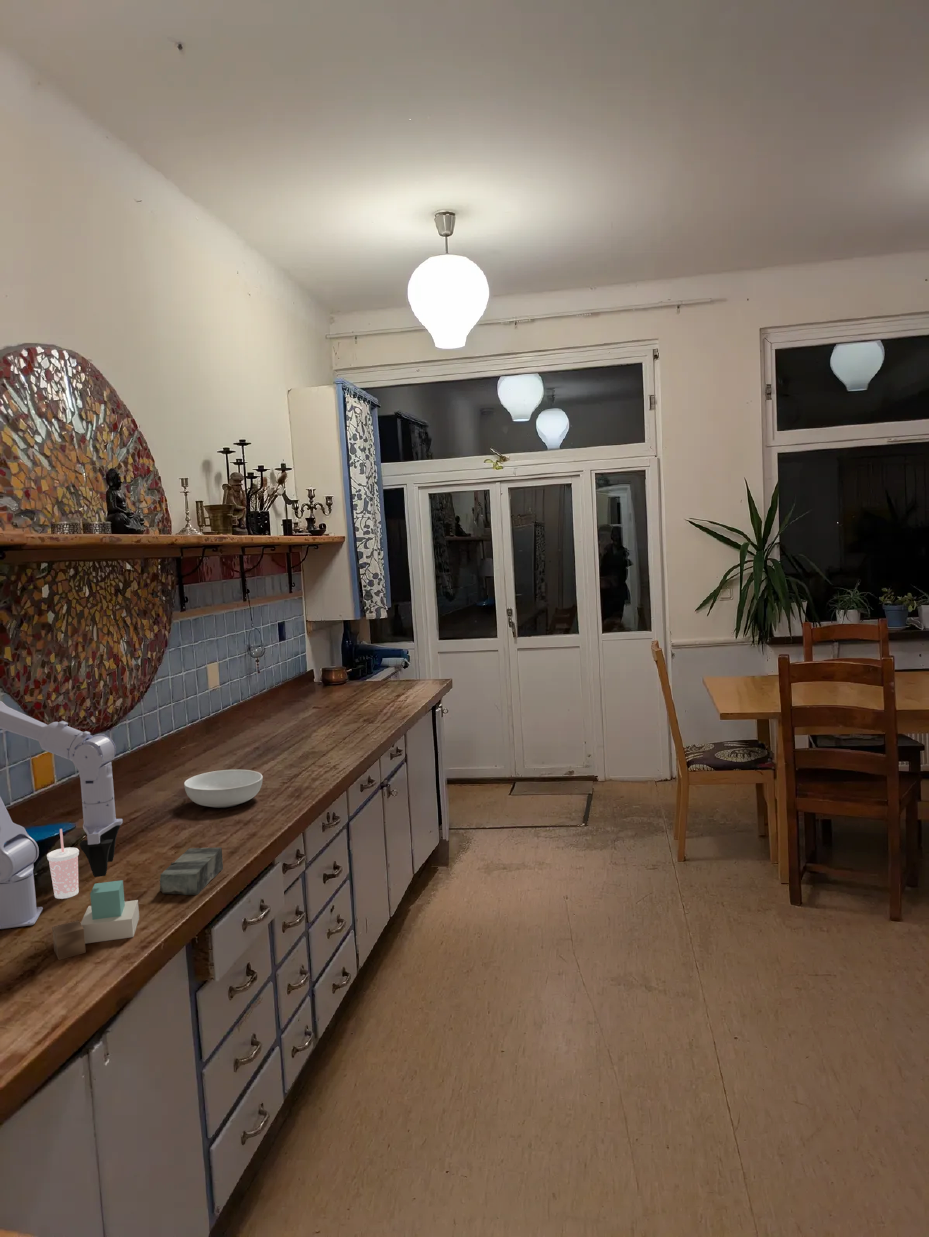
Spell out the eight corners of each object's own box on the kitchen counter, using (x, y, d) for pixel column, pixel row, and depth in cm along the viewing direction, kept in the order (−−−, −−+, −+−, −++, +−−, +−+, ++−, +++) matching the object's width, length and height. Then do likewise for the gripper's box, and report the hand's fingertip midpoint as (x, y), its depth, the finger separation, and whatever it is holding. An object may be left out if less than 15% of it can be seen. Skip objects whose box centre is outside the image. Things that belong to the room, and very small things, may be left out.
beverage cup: (46, 894, 190) (40, 829, 189) (75, 886, 194) (70, 822, 193) (57, 902, 186) (51, 836, 184) (87, 893, 190) (81, 828, 189)
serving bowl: (244, 815, 238) (242, 790, 238) (171, 814, 243) (169, 789, 242) (276, 792, 259) (274, 769, 258) (208, 791, 263) (206, 768, 262)
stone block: (156, 896, 188) (153, 872, 187) (185, 870, 202) (183, 847, 201) (197, 896, 186) (195, 871, 186) (224, 869, 201) (222, 847, 200)
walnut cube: (58, 960, 160) (56, 935, 160) (54, 951, 164) (52, 927, 163) (85, 952, 162) (83, 928, 162) (80, 943, 166) (78, 920, 166)
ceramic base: (81, 943, 166) (79, 925, 166) (90, 923, 175) (88, 906, 174) (133, 937, 168) (131, 918, 168) (139, 917, 177) (137, 899, 176)
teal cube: (92, 919, 168) (90, 893, 167) (97, 908, 173) (94, 883, 172) (121, 916, 169) (118, 890, 168) (124, 905, 174) (122, 880, 173)
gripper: (113, 808, 167) (119, 880, 169) (126, 787, 181) (131, 853, 183) (73, 812, 166) (79, 884, 167) (88, 790, 180) (94, 857, 181)
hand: (103, 868), depth 175 cm, fingers open, 7 cm apart
